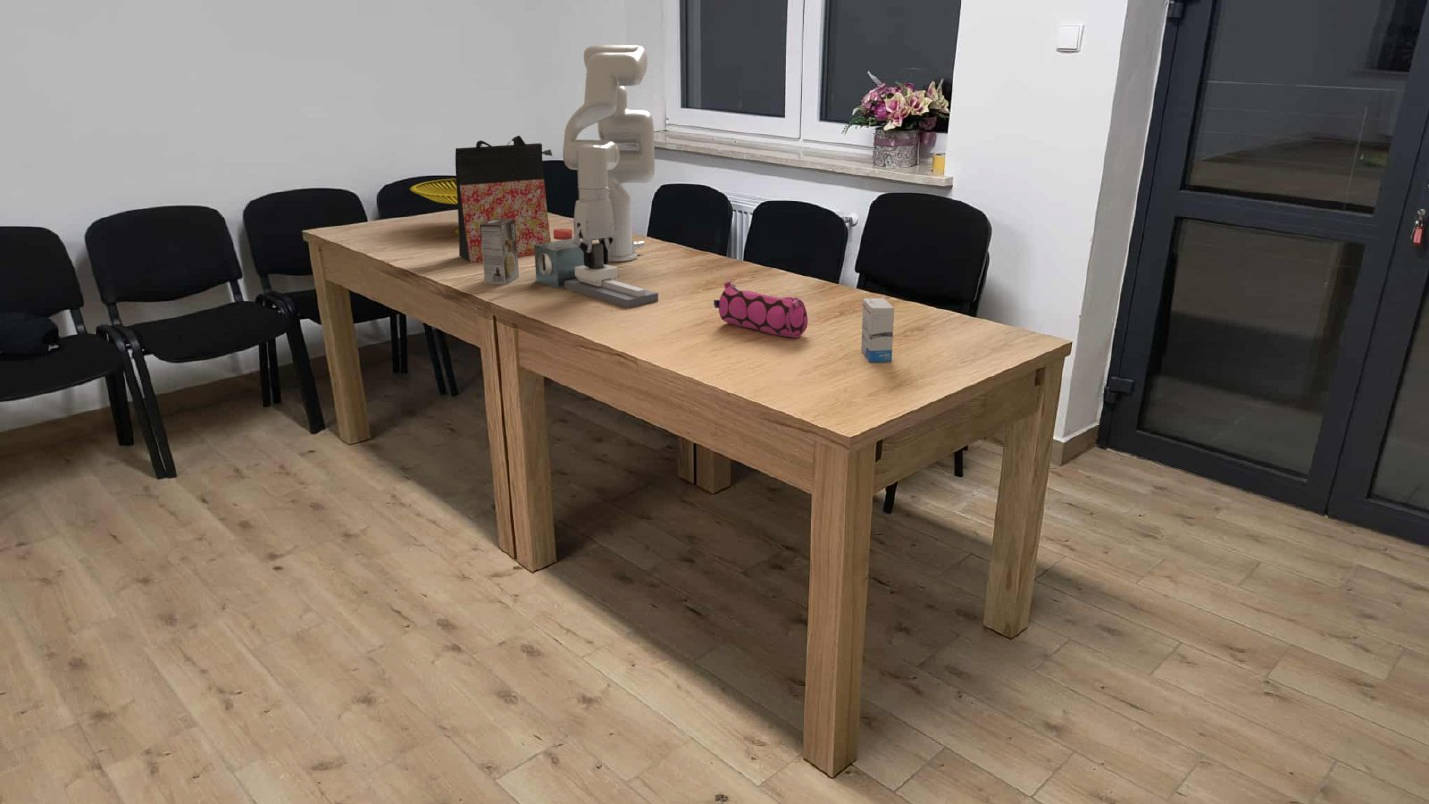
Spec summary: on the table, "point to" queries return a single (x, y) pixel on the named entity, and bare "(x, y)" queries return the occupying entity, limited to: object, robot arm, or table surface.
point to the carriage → (596, 268)
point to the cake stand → (438, 192)
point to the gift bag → (501, 194)
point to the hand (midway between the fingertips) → (596, 264)
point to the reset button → (562, 234)
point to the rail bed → (613, 292)
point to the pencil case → (762, 311)
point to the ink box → (877, 330)
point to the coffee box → (499, 251)
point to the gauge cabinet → (557, 262)
